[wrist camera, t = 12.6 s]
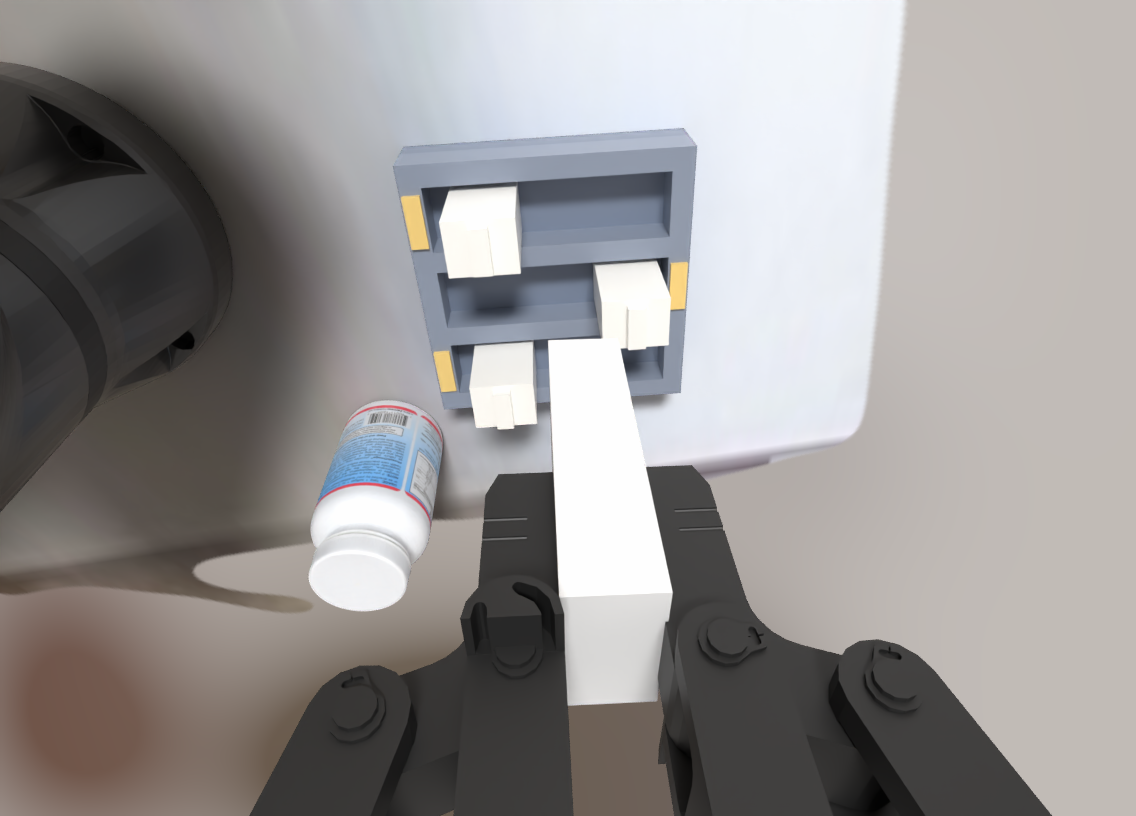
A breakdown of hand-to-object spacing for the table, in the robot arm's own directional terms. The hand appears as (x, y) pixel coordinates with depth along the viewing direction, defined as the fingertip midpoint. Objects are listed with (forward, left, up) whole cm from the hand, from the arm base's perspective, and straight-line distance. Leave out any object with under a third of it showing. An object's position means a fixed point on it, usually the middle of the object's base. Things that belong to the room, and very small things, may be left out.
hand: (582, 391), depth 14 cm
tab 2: (-3, -10, -18) cm, 21 cm away
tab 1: (-3, -2, -18) cm, 19 cm away
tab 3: (+3, -6, -18) cm, 19 cm away
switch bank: (-1, -6, -20) cm, 20 cm away
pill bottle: (-11, -16, -20) cm, 28 cm away
